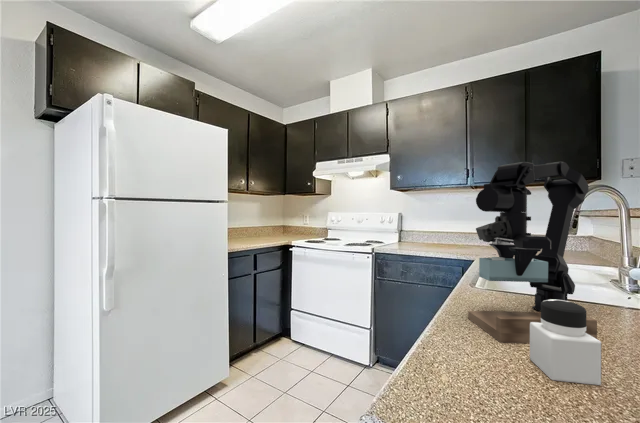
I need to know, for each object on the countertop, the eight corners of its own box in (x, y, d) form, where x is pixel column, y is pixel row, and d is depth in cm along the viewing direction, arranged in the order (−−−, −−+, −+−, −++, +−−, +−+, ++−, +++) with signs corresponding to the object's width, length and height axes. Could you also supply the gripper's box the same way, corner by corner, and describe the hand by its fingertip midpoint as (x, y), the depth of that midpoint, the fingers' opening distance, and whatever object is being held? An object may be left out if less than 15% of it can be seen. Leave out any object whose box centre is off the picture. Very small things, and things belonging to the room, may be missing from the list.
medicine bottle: (602, 386, 45) (602, 310, 46) (551, 380, 47) (551, 307, 47) (572, 363, 52) (572, 297, 53) (528, 359, 54) (529, 295, 54)
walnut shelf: (546, 319, 74) (546, 300, 74) (597, 344, 60) (597, 320, 60) (468, 318, 75) (468, 299, 75) (500, 342, 61) (500, 319, 61)
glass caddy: (533, 277, 75) (534, 257, 75) (548, 282, 70) (548, 260, 70) (479, 276, 76) (479, 255, 76) (489, 280, 71) (489, 258, 71)
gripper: (464, 212, 83) (463, 266, 83) (501, 211, 64) (501, 281, 64) (504, 212, 83) (503, 267, 82) (553, 212, 64) (552, 282, 64)
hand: (512, 273), depth 73 cm, fingers closed on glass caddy, 5 cm apart
